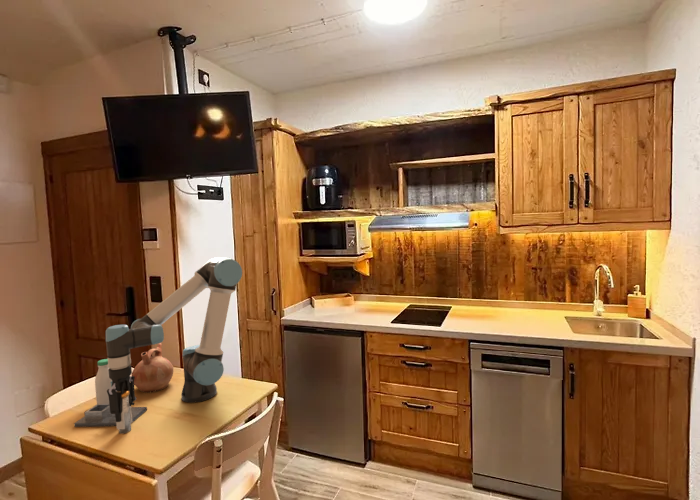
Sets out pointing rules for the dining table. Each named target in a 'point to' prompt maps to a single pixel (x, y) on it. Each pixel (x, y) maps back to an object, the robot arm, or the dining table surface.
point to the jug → (152, 371)
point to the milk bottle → (102, 382)
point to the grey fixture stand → (104, 416)
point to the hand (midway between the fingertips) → (124, 425)
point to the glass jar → (126, 413)
